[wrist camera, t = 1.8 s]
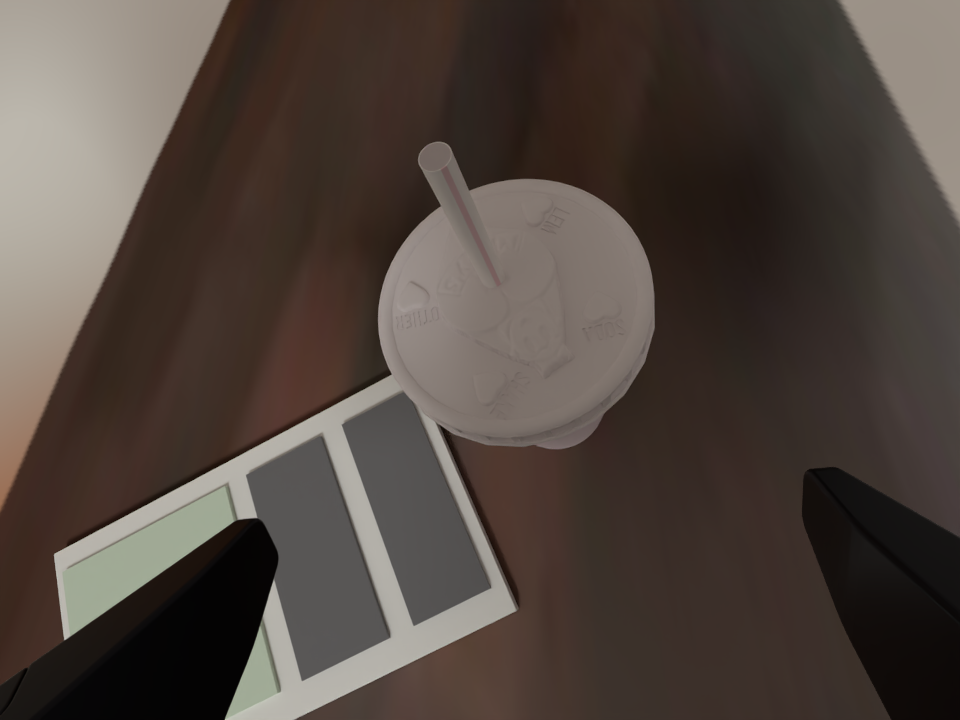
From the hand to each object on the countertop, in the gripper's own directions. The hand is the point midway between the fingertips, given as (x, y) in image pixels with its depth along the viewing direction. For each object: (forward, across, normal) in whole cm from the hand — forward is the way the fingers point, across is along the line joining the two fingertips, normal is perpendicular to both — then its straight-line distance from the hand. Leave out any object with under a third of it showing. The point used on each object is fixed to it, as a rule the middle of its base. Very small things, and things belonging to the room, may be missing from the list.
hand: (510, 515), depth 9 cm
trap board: (+7, +12, +9) cm, 17 cm away
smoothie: (+12, 0, +5) cm, 13 cm away
